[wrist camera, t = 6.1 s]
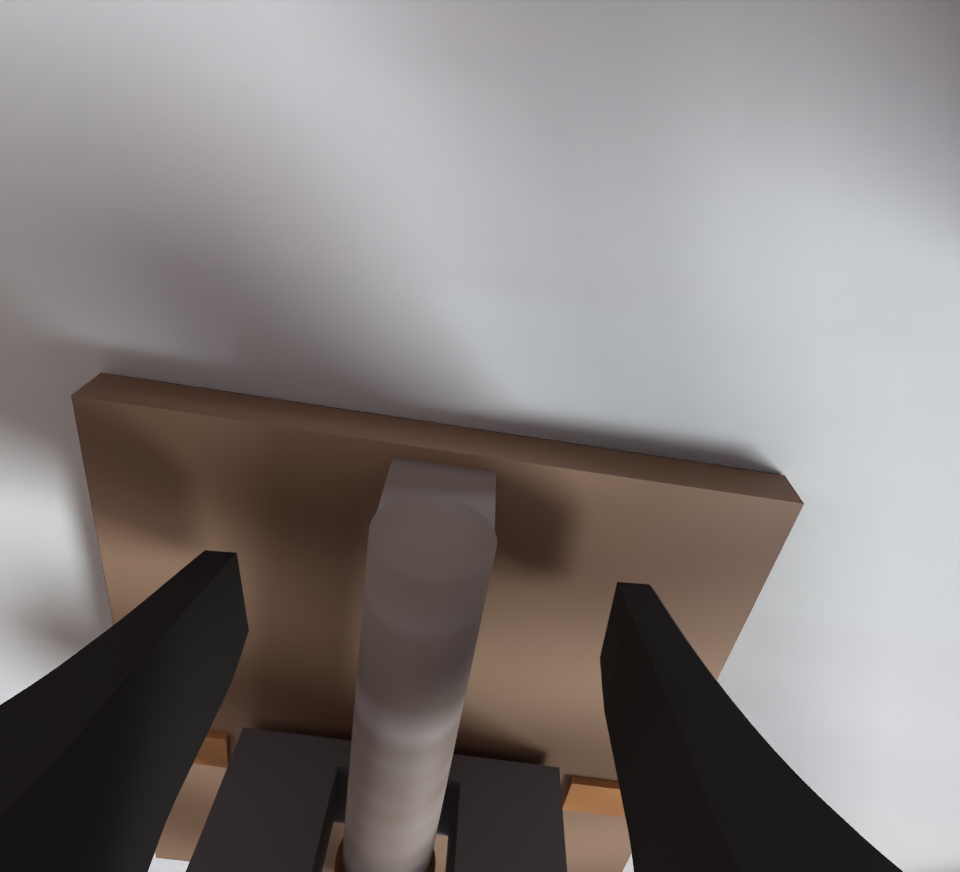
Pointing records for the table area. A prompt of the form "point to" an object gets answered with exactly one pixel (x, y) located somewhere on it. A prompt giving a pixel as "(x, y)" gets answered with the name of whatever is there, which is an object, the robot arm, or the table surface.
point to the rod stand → (418, 591)
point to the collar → (322, 800)
